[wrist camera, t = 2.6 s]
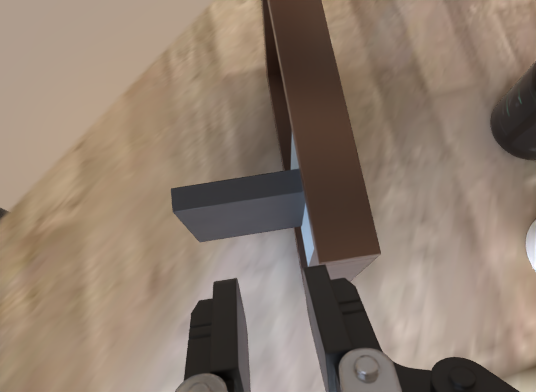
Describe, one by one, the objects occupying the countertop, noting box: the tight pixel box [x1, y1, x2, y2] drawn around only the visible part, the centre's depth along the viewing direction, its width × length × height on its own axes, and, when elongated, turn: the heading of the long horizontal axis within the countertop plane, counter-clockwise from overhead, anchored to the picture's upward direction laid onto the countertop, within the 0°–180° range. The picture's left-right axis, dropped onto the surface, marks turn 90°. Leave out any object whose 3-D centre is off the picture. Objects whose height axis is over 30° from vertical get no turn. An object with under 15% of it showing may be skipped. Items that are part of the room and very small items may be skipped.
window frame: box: [261, 0, 381, 290], centre depth 33 cm, size 22×3×16 cm, turn 9°
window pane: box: [171, 134, 314, 267], centre depth 31 cm, size 10×9×13 cm
